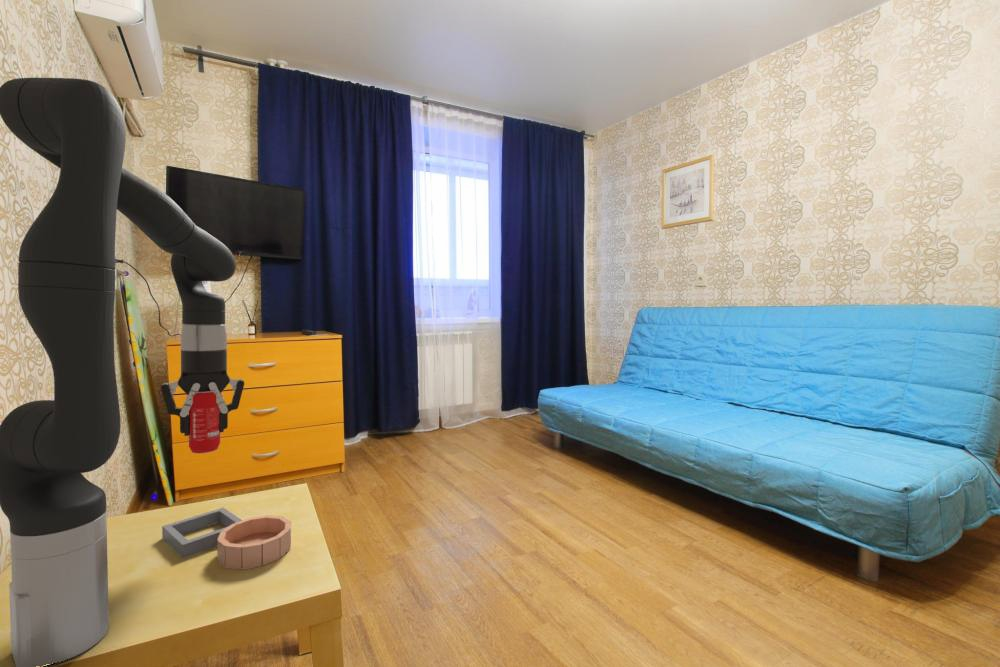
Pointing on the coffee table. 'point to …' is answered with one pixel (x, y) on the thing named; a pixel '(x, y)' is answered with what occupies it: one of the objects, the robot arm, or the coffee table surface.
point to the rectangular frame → (177, 529)
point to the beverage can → (204, 423)
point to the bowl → (254, 542)
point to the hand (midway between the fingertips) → (204, 432)
